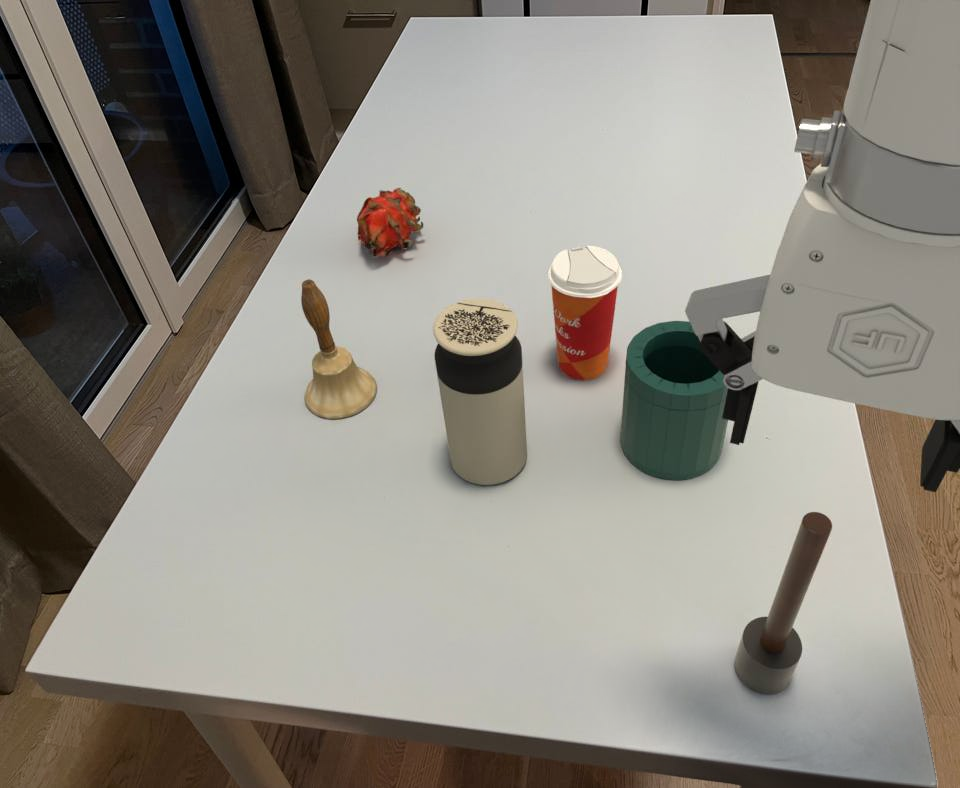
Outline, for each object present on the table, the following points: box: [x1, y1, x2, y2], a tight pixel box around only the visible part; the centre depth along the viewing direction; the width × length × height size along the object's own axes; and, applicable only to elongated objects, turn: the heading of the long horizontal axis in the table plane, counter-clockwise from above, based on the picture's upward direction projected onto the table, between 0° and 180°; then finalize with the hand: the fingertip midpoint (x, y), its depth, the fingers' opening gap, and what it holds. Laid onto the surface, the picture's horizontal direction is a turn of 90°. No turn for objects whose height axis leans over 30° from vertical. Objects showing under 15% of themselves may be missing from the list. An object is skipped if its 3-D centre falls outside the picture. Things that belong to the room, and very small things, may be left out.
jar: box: [620, 320, 729, 481], centre depth 78 cm, size 10×10×12 cm
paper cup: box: [547, 245, 623, 381], centre depth 86 cm, size 8×8×14 cm
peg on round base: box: [733, 511, 833, 695], centre depth 57 cm, size 4×4×20 cm
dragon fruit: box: [356, 187, 424, 259], centre depth 109 cm, size 8×8×12 cm
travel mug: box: [432, 298, 528, 486], centre depth 76 cm, size 8×8×18 cm
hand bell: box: [300, 278, 378, 420], centre depth 85 cm, size 8×8×16 cm
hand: (830, 448), depth 43 cm, fingers open, 9 cm apart
